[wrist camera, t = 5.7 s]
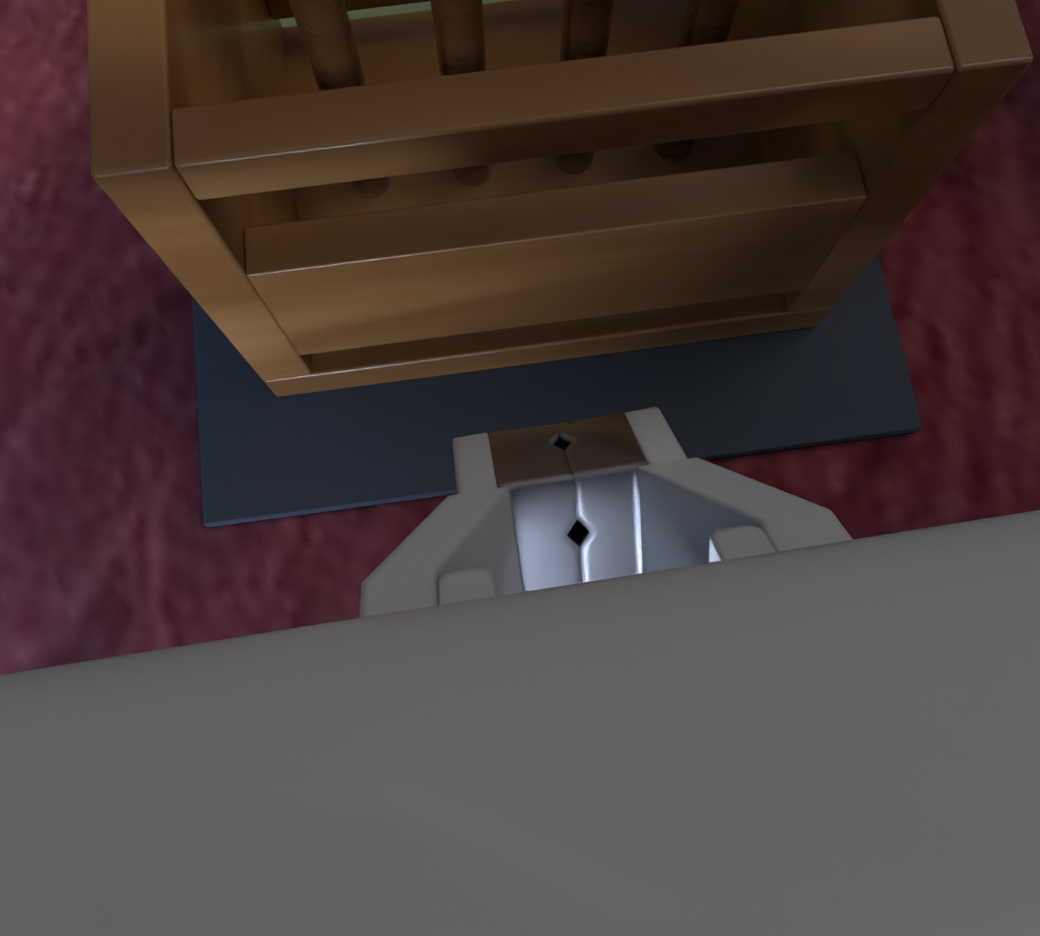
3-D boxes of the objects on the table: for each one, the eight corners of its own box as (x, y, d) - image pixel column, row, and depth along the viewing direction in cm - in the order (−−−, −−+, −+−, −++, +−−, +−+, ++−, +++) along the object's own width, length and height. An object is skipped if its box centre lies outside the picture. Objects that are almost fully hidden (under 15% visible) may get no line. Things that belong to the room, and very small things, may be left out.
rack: (819, 327, 23) (1037, 59, 13) (275, 398, 22) (88, 176, 13) (742, 3, 25) (879, -425, 16) (250, 61, 25) (76, -340, 15)
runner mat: (916, 432, 23) (923, 427, 22) (208, 527, 22) (202, 524, 22) (733, -283, 28) (736, -296, 28) (168, -221, 28) (163, -234, 27)
